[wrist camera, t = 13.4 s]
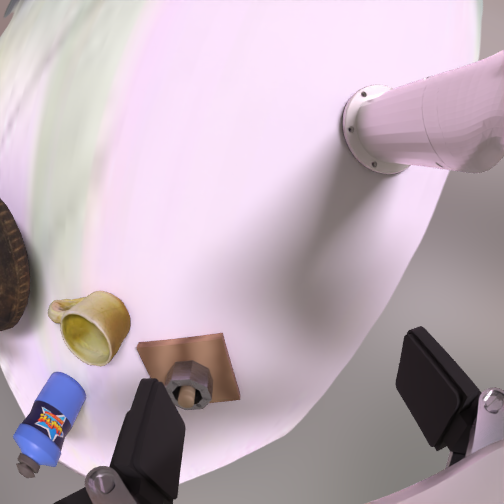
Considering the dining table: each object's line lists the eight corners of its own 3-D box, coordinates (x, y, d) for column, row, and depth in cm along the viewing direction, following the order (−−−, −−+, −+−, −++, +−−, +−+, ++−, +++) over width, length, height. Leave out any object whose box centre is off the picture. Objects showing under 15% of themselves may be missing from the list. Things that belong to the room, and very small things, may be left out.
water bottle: (76, 406, 47) (39, 490, 23) (45, 379, 44) (-2, 459, 21) (93, 395, 46) (53, 490, 22) (59, 365, 43) (5, 456, 19)
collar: (205, 358, 41) (203, 377, 37) (216, 388, 43) (215, 407, 39) (163, 362, 41) (158, 381, 37) (177, 391, 43) (173, 410, 39)
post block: (222, 332, 41) (220, 365, 34) (240, 393, 46) (241, 425, 39) (138, 342, 41) (125, 372, 34) (166, 399, 46) (160, 429, 39)
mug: (150, 315, 38) (108, 359, 29) (129, 342, 43) (95, 380, 34) (93, 256, 37) (44, 289, 28) (80, 292, 42) (41, 323, 34)
